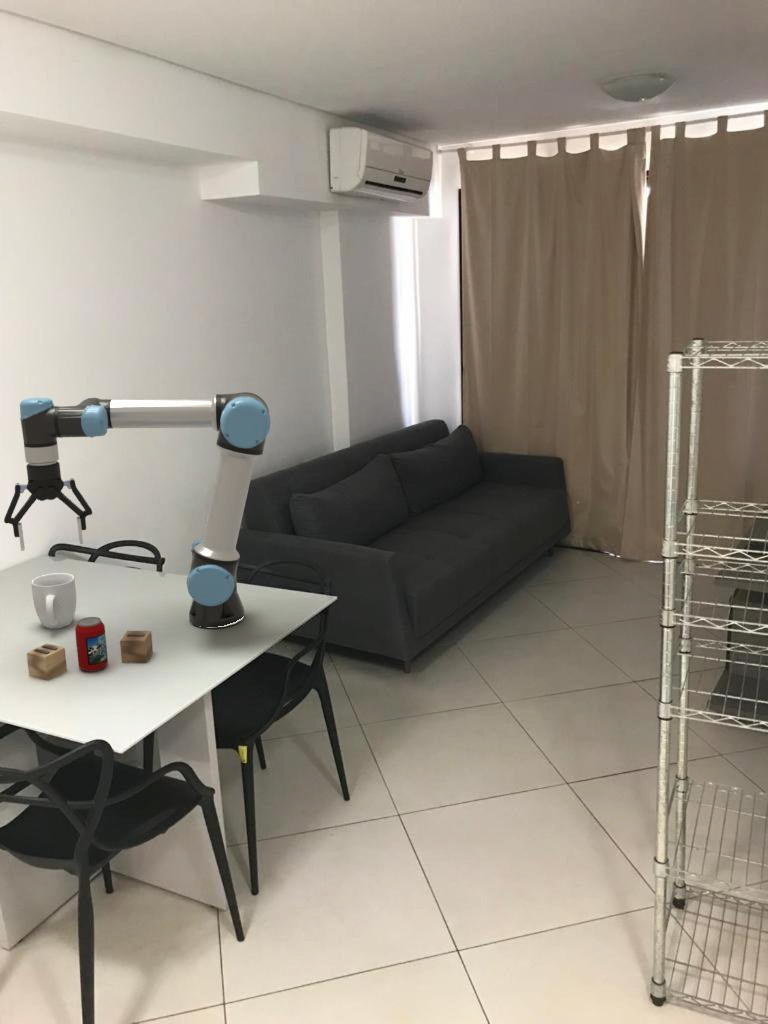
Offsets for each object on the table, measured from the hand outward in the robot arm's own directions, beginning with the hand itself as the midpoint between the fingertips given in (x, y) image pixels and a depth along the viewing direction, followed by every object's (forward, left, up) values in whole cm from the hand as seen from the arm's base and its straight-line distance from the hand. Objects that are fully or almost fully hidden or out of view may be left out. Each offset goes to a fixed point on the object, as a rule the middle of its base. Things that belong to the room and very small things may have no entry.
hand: (52, 546), depth 208 cm
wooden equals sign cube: (-5, +15, -27) cm, 31 cm away
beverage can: (-14, +10, -27) cm, 32 cm away
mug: (+9, -12, -27) cm, 31 cm away
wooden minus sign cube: (-22, +3, -27) cm, 35 cm away
